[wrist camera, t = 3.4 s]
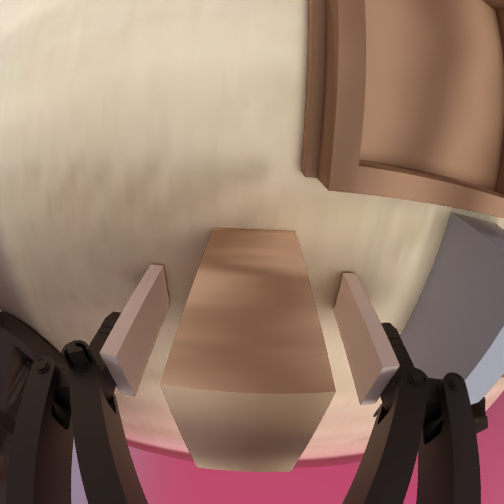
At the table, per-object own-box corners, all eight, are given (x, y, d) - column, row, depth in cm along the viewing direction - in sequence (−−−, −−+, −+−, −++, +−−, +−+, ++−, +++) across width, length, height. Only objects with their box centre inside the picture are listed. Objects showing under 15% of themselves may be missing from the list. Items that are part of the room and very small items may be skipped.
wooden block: (217, 331, 17) (197, 467, 9) (213, 227, 13) (160, 384, 5) (281, 334, 17) (290, 471, 9) (295, 230, 13) (335, 391, 5)
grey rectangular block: (397, 340, 17) (430, 418, 11) (450, 211, 13) (529, 275, 6) (443, 336, 17) (479, 401, 11) (495, 223, 13) (561, 277, 6)
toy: (409, 449, 28) (441, 440, 18) (414, 412, 32) (445, 387, 22) (459, 444, 24) (505, 429, 14) (462, 408, 28) (505, 379, 18)
